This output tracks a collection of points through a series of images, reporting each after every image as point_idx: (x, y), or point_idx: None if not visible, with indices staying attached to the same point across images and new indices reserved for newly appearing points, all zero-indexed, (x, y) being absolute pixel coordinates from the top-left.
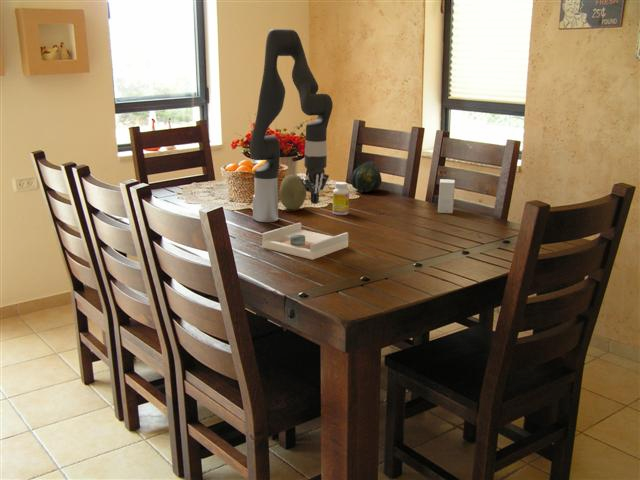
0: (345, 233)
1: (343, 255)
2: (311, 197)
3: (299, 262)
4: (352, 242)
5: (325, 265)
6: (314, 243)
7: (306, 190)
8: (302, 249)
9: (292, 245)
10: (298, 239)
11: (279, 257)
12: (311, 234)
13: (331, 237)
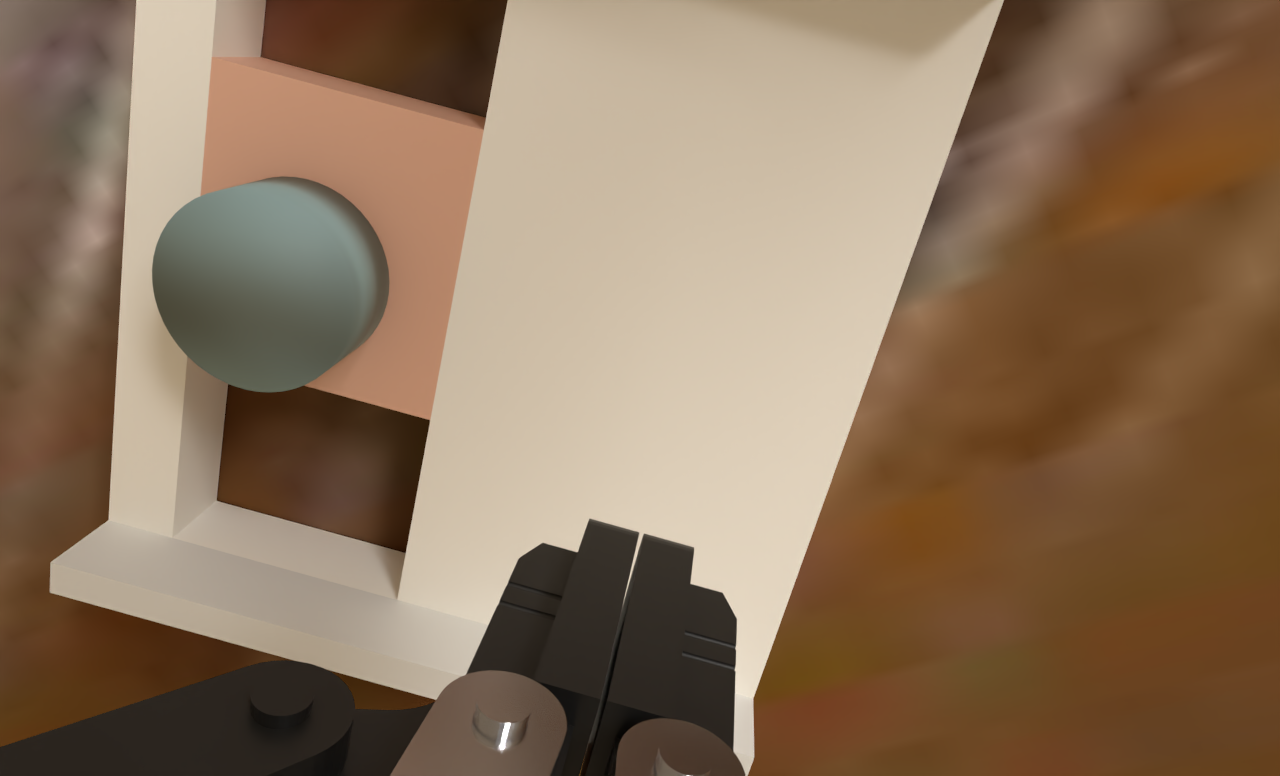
0: None
1: None
2: (490, 634)
3: (12, 433)
4: (927, 668)
5: (88, 663)
6: (111, 591)
7: (210, 688)
8: (129, 417)
9: None
10: (181, 338)
11: (14, 175)
12: (787, 255)
13: (445, 677)
